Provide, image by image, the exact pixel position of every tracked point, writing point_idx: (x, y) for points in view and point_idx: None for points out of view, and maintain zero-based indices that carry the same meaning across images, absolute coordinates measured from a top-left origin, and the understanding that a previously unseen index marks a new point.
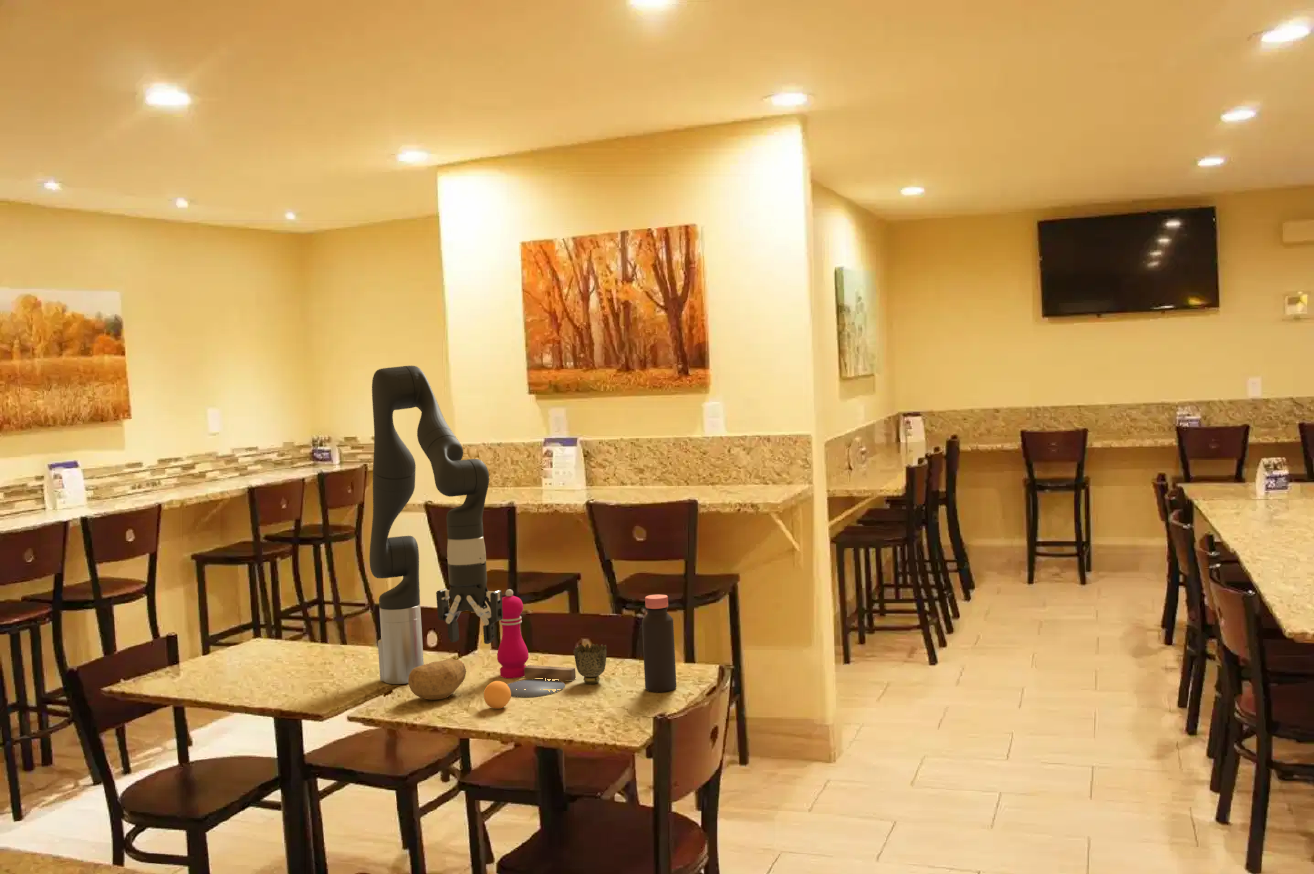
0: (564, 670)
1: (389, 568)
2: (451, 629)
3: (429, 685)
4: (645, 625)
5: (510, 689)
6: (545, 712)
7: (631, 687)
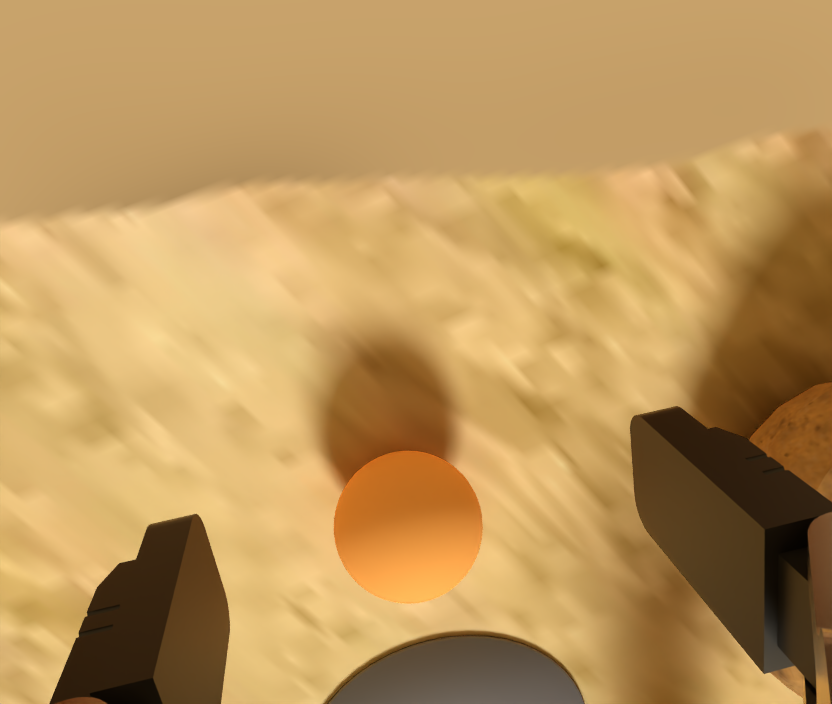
0: None
1: None
2: (730, 480)
3: (810, 412)
4: None
5: (527, 694)
6: (120, 542)
7: None
